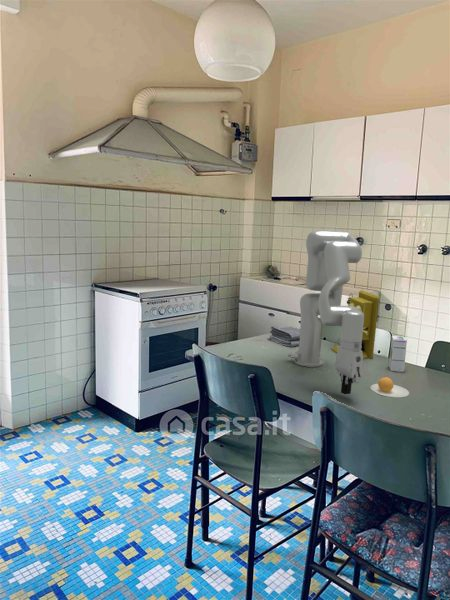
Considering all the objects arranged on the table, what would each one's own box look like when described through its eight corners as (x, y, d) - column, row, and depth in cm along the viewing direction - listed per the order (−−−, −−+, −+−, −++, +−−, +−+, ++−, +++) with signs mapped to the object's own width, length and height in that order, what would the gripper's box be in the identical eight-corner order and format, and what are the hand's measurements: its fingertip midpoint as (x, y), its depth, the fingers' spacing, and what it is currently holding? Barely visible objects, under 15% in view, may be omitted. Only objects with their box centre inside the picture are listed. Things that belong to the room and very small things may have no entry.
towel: (290, 348, 225) (292, 333, 224) (266, 340, 240) (267, 325, 239) (312, 344, 234) (313, 330, 233) (287, 336, 249) (288, 322, 247)
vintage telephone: (324, 344, 236) (328, 287, 230) (349, 343, 238) (354, 287, 233) (349, 363, 205) (355, 298, 200) (378, 362, 208) (385, 298, 202)
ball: (380, 381, 169) (391, 374, 170) (373, 381, 174) (384, 374, 175) (386, 394, 168) (398, 388, 170) (379, 394, 174) (391, 387, 175)
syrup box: (404, 372, 196) (408, 339, 193) (389, 370, 197) (393, 338, 194) (401, 368, 201) (405, 336, 199) (387, 366, 202) (391, 335, 200)
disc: (374, 395, 167) (374, 395, 167) (367, 382, 181) (367, 382, 181) (414, 399, 166) (414, 398, 166) (403, 385, 180) (403, 384, 180)
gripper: (373, 349, 156) (367, 399, 160) (345, 338, 170) (341, 385, 173) (355, 351, 153) (350, 402, 157) (328, 340, 167) (324, 387, 170)
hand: (345, 393), depth 165 cm, fingers closed
